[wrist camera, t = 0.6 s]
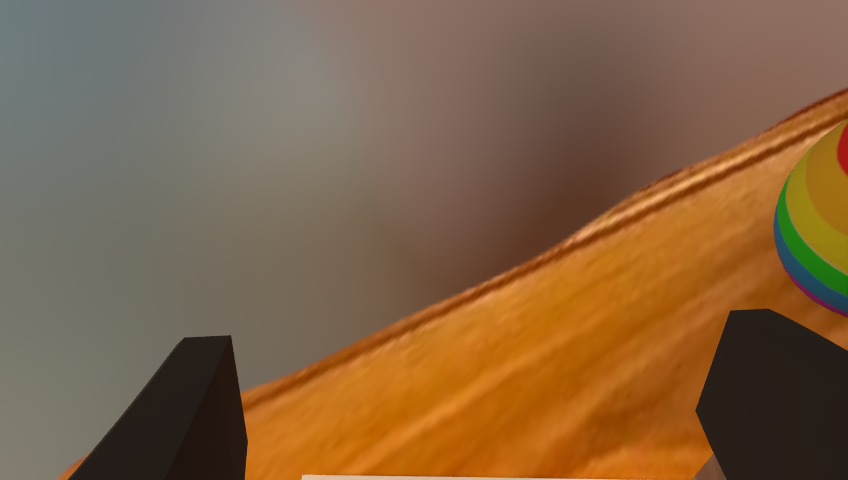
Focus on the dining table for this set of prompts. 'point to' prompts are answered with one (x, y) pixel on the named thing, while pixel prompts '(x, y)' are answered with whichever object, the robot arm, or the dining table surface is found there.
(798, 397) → the robot arm
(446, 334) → the dining table surface
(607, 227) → the dining table surface
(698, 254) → the dining table surface
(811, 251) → the decorative egg
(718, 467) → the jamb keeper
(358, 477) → the door panel
